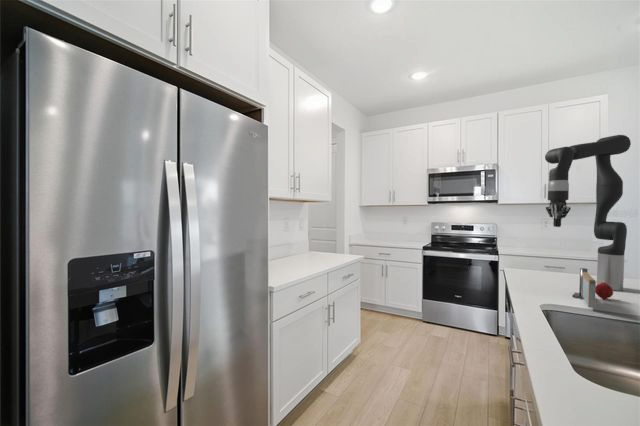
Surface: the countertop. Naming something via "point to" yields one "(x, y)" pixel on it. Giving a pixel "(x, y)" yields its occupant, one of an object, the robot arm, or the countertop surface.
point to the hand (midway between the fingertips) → (557, 226)
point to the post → (577, 295)
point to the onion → (604, 290)
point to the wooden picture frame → (588, 289)
